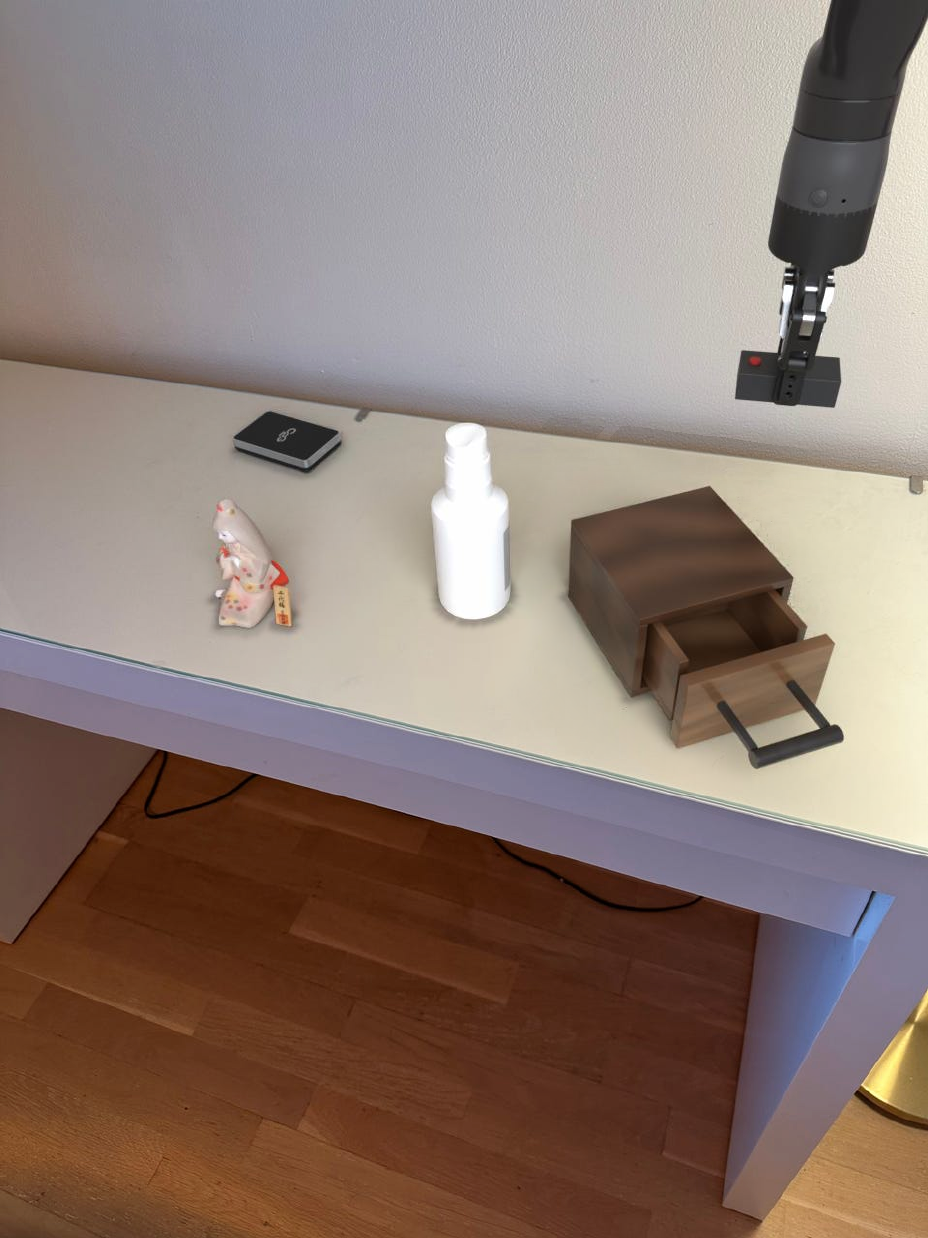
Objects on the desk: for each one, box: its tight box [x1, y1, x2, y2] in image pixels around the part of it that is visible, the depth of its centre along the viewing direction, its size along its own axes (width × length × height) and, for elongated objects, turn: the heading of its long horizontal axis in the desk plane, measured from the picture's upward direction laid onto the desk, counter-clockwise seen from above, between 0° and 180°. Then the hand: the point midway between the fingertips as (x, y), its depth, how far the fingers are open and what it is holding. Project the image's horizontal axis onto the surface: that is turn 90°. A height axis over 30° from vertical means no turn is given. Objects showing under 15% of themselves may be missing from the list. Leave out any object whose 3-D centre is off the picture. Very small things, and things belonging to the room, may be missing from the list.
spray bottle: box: [430, 422, 512, 620], centre depth 82 cm, size 7×7×18 cm
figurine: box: [212, 497, 293, 629], centre depth 85 cm, size 9×7×12 cm
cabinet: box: [567, 485, 795, 698], centre depth 81 cm, size 14×14×9 cm
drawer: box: [642, 589, 845, 770], centre depth 74 cm, size 19×12×7 cm, turn 18°
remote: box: [734, 349, 842, 409], centre depth 83 cm, size 8×4×3 cm, turn 76°
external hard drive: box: [232, 410, 342, 473], centre depth 107 cm, size 7×11×2 cm, turn 60°
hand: (785, 388), depth 83 cm, fingers closed on remote, 4 cm apart
